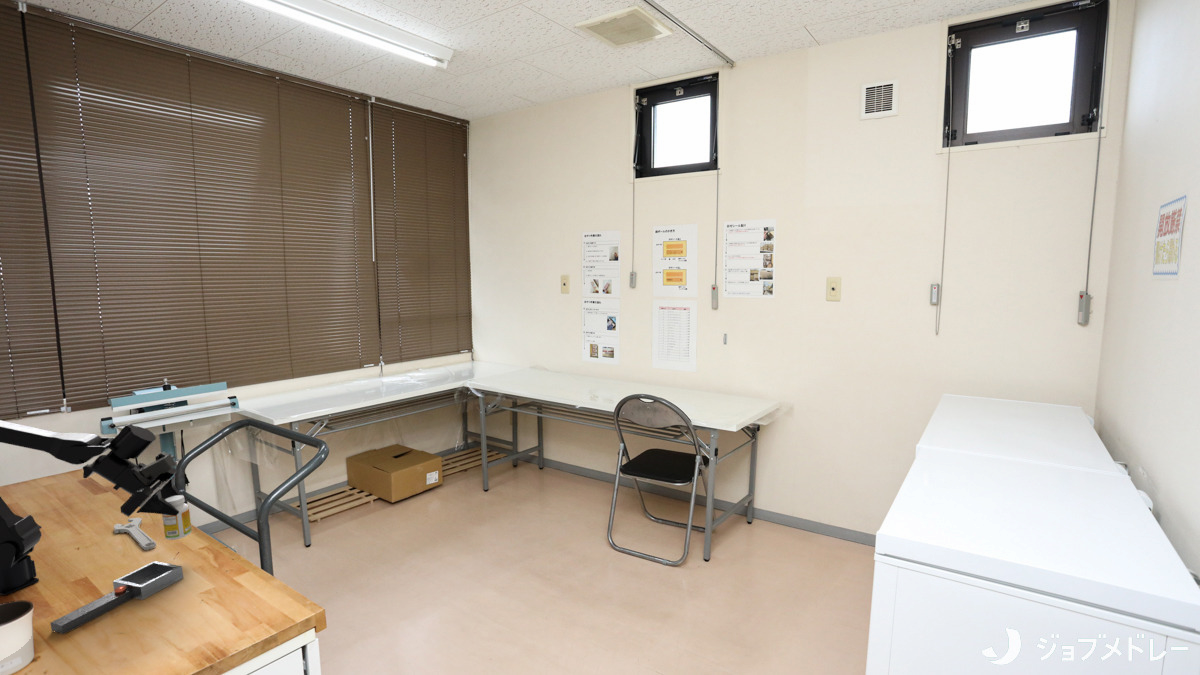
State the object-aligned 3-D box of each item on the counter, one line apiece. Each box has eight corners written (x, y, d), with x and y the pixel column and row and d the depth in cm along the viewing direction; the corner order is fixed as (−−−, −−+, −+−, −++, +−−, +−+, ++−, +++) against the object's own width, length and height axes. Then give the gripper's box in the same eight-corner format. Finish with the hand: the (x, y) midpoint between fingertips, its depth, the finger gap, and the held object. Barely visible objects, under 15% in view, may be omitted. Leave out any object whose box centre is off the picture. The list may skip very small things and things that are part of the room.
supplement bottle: (188, 528, 145) (183, 492, 144) (194, 534, 142) (190, 497, 140) (162, 536, 141) (157, 499, 140) (168, 542, 137) (163, 504, 136)
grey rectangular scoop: (72, 637, 112) (70, 623, 112) (43, 629, 115) (40, 615, 115) (183, 578, 133) (181, 566, 133) (156, 572, 136) (154, 561, 135)
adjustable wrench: (158, 549, 149) (157, 542, 148) (127, 559, 144) (126, 552, 144) (140, 521, 165) (139, 515, 165) (111, 529, 161) (111, 523, 161)
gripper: (130, 459, 128) (193, 498, 133) (163, 436, 146) (217, 471, 151) (92, 497, 127) (157, 535, 132) (130, 469, 144) (186, 504, 149)
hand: (182, 509), depth 141 cm, fingers closed on supplement bottle, 5 cm apart
